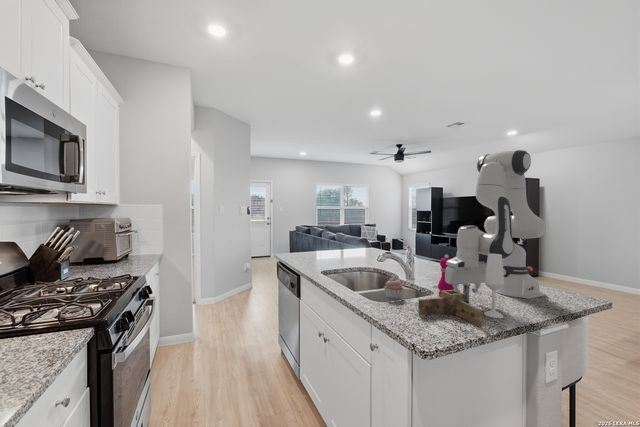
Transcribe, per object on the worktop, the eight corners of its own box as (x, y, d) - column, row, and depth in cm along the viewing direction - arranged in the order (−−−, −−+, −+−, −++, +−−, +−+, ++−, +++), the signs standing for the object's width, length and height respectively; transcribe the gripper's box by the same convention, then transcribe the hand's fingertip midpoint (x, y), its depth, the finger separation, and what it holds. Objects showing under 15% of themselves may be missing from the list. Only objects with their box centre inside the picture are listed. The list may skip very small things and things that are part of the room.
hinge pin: (466, 301, 132) (466, 283, 132) (471, 304, 129) (471, 284, 129) (460, 302, 131) (461, 283, 131) (465, 304, 128) (466, 285, 128)
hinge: (444, 330, 100) (444, 307, 100) (414, 312, 118) (415, 292, 118) (487, 325, 105) (487, 303, 105) (452, 308, 122) (453, 289, 122)
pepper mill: (450, 294, 143) (451, 253, 143) (456, 298, 136) (457, 256, 136) (435, 293, 144) (436, 253, 144) (440, 298, 137) (441, 255, 136)
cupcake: (398, 302, 130) (398, 280, 130) (379, 298, 136) (380, 276, 136) (407, 297, 137) (407, 276, 137) (389, 293, 143) (389, 273, 143)
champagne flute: (505, 318, 112) (507, 256, 111) (486, 316, 114) (487, 255, 113) (500, 312, 118) (501, 253, 118) (482, 310, 120) (483, 252, 120)
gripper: (480, 260, 135) (480, 290, 135) (443, 261, 130) (442, 292, 130) (492, 262, 129) (491, 293, 129) (452, 264, 124) (452, 296, 124)
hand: (466, 293), depth 129 cm, fingers open, 8 cm apart
